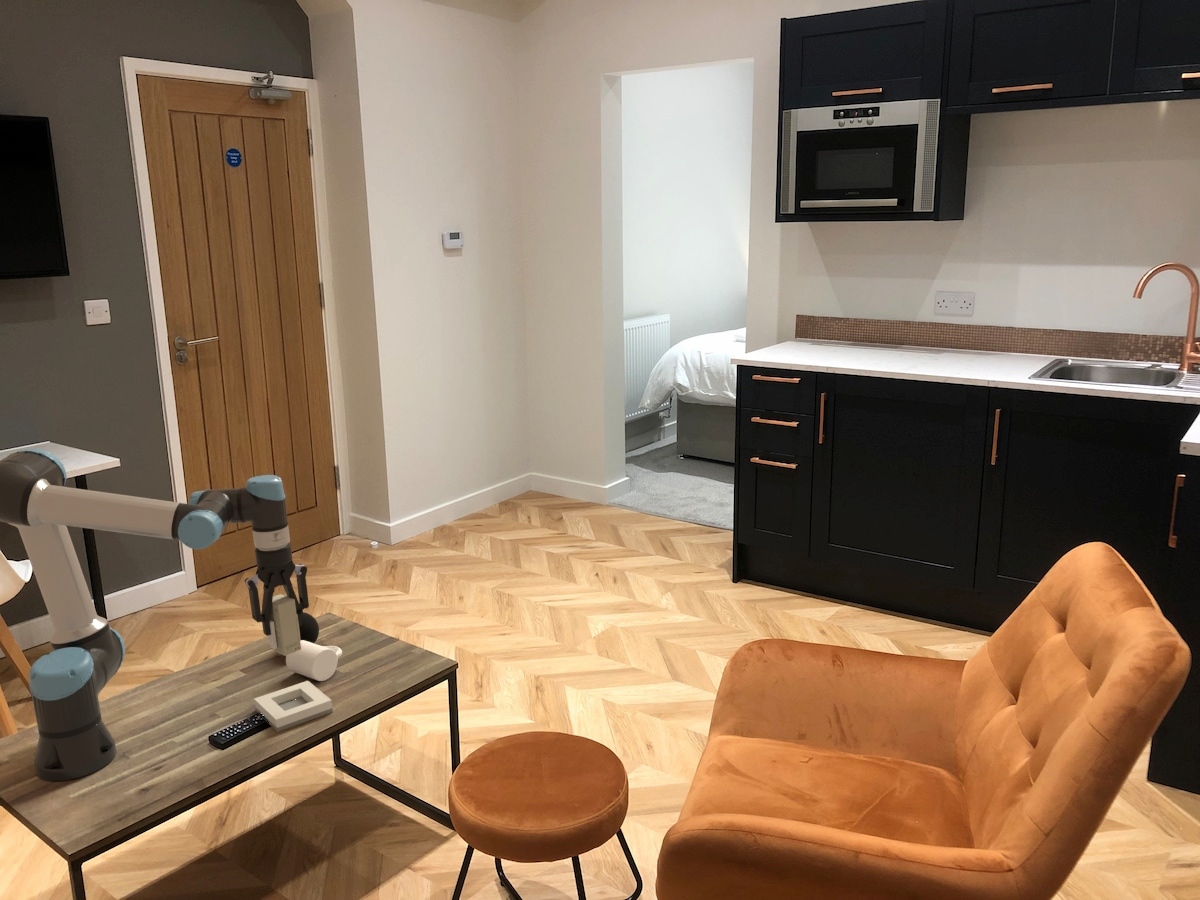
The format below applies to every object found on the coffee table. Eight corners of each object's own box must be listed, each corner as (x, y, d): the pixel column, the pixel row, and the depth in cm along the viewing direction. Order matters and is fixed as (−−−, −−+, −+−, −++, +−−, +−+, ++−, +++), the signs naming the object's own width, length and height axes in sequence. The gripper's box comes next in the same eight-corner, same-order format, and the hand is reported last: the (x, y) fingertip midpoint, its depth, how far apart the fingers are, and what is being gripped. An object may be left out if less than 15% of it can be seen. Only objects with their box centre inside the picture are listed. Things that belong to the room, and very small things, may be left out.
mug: (314, 686, 235) (310, 656, 233) (287, 676, 241) (283, 647, 239) (351, 667, 245) (349, 637, 243) (325, 658, 250) (322, 629, 248)
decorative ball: (302, 638, 263) (299, 603, 260) (328, 645, 258) (325, 610, 255) (273, 652, 254) (268, 616, 252) (299, 660, 249) (295, 624, 247)
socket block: (277, 732, 215) (276, 719, 214) (255, 710, 224) (254, 698, 224) (332, 712, 223) (331, 700, 222) (309, 692, 232) (307, 680, 232)
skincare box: (301, 650, 219) (296, 599, 216) (283, 656, 215) (278, 605, 213) (287, 642, 223) (281, 592, 220) (269, 649, 220) (263, 598, 217)
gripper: (238, 559, 205) (252, 661, 211) (318, 539, 216) (329, 636, 221) (226, 551, 211) (239, 650, 216) (304, 532, 222) (315, 627, 227)
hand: (285, 643), depth 219 cm, fingers closed on skincare box, 5 cm apart
